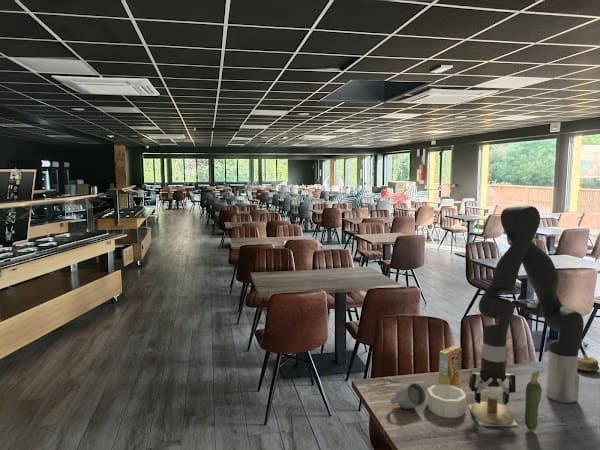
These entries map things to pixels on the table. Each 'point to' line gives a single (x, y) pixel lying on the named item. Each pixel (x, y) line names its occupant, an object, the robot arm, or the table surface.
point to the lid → (492, 412)
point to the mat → (494, 425)
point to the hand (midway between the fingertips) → (491, 403)
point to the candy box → (450, 366)
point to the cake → (587, 364)
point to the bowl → (446, 400)
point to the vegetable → (532, 402)
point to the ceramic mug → (410, 396)
